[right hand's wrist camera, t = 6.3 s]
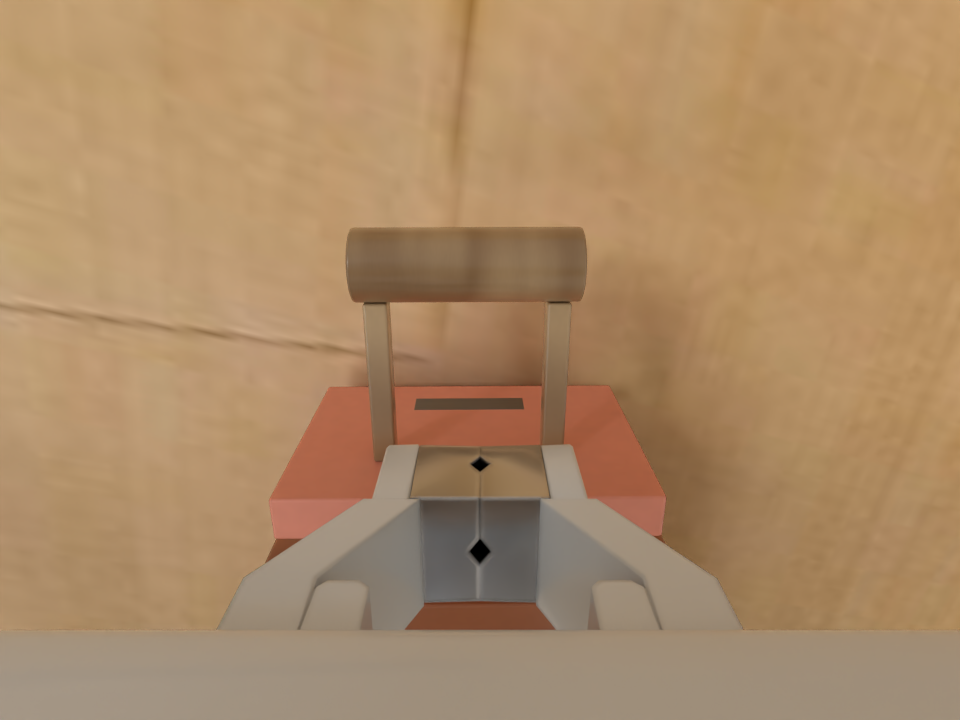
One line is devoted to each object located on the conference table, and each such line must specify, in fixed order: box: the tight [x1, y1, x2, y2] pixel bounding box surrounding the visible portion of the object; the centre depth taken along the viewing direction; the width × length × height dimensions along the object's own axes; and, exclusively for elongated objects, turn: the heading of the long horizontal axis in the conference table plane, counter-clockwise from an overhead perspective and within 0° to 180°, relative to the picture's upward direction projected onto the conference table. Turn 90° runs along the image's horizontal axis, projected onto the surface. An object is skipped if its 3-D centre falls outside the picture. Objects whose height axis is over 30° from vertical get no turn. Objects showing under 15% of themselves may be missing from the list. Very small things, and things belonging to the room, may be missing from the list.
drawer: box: [269, 227, 666, 539], centre depth 20 cm, size 24×10×7 cm, turn 0°
